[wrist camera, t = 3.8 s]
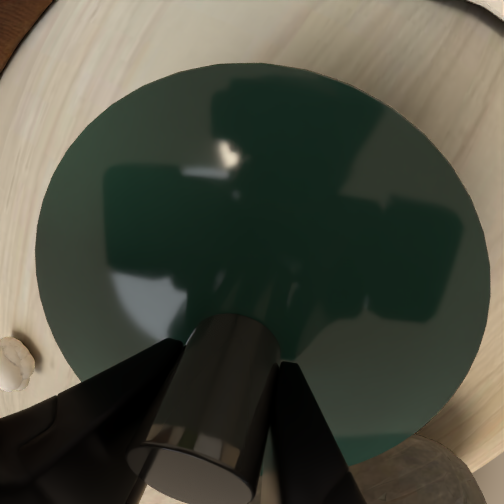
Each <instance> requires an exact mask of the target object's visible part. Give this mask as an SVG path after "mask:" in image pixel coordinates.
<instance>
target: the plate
mask: <svg viewBox="0 0 504 504" xmlns="http://www.w3.org/2000/svg"><path fill="white" fill-rule="evenodd" d="M465 1H467V2H470V3H472V4H475V5H477V6H480V7H482V8H484V9H485V10H487V11H488V12H490V13H491V14H493V15H494V16H495V17H497V18H498V19H500V20H501V21H502V22H504V0H465Z"/></svg>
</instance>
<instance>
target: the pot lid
mask: <svg viewBox="0 0 504 504" xmlns="http://www.w3.org/2000/svg"><path fill="white" fill-rule="evenodd" d="M35 261H36V276H37V283H38V288H39V294H40V299H41V302H42V306H43V309H44V313H45V316H46V319H47V322H48V324H49V327H50V329H51V331H52V334H53V336H54V338H55V341H56V343H57V345H58V346H59V348H60V350H61V352H62V354H63V355H64V357H65V359H66V361H67V362H68V364H69V365H70V367H71V368H72V370H73V371H74V373H75V374H76V375H77V377H78V378H79V380H80V381H81V382H83V381H85V380H87V379H89V378H91V377H93V376H95V375H97V374H99V373H101V372H103V371H105V370H107V369H109V368H111V367H112V366H114V365H116V364H118V363H120V362H122V361H124V360H126V359H128V358H130V357H132V356H134V355H135V354H137V353H139V352H141V351H143V350H145V349H147V348H149V347H151V346H152V345H154V344H156V343H158V342H160V341H162V340H164V339H166V338H172V339H176V340H180V341H182V342H183V344H184V347H183V349H182V351H181V352H180V354H179V356H178V358H177V359H176V361H175V363H174V365H173V366H172V368H171V370H170V372H169V373H168V375H167V377H166V379H165V380H164V382H163V384H162V386H161V387H160V389H159V391H158V393H157V394H156V396H155V398H154V400H153V401H152V403H151V405H150V407H149V409H148V410H147V412H146V414H145V416H144V417H143V419H142V421H141V423H140V425H139V426H138V428H137V430H136V432H135V433H134V435H133V437H132V439H131V441H130V442H129V444H128V446H127V448H126V451H125V459H126V462H127V464H128V466H129V467H130V469H131V470H132V471H133V472H134V473H135V474H136V475H137V476H138V477H139V478H140V479H141V480H142V481H144V482H145V483H146V484H148V485H149V486H151V487H152V488H154V489H156V490H157V491H159V492H161V493H163V494H165V495H167V496H169V497H171V498H174V499H176V500H179V501H182V502H185V503H188V504H249V503H250V502H251V501H252V500H253V499H254V498H255V496H256V493H257V488H258V484H259V479H260V476H262V474H263V459H264V454H265V449H266V444H267V439H268V434H269V428H270V423H271V416H272V409H273V403H274V397H275V392H276V386H277V380H278V374H279V368H280V364H281V362H282V361H287V362H293V363H297V364H298V365H299V366H300V368H301V370H302V372H303V374H304V376H305V379H306V381H307V383H308V385H309V387H310V389H311V391H312V393H313V395H314V397H315V399H316V401H317V403H318V405H319V407H320V409H321V412H322V414H323V416H324V418H325V420H326V422H327V424H328V426H329V428H330V430H331V432H332V434H333V436H334V438H335V440H336V442H337V444H338V446H339V448H340V450H341V453H342V455H343V457H344V459H345V461H346V463H347V465H348V467H349V466H352V465H355V464H358V463H361V462H363V461H366V460H368V459H371V458H373V457H376V456H378V455H380V454H382V453H384V452H386V451H388V450H389V449H391V448H393V447H395V446H397V445H398V444H400V443H402V442H403V441H404V440H406V439H407V438H409V437H410V436H412V435H413V434H415V433H416V432H417V431H419V430H420V429H421V428H422V427H423V426H424V425H426V424H427V423H428V422H429V421H430V420H431V419H432V418H433V417H435V416H436V415H437V414H438V412H439V411H440V410H441V409H442V408H443V407H444V406H445V405H446V403H447V402H448V401H449V400H450V399H451V398H452V396H453V395H454V394H455V392H456V391H457V389H458V388H459V386H460V385H461V383H462V382H463V380H464V379H465V377H466V375H467V373H468V371H469V369H470V367H471V365H472V363H473V361H474V359H475V357H476V355H477V353H478V350H479V347H480V344H481V341H482V338H483V334H484V331H485V327H486V323H487V317H488V310H489V303H490V263H489V258H488V252H487V247H486V242H485V237H484V232H483V229H482V226H481V224H480V221H479V218H478V215H477V213H476V210H475V208H474V205H473V202H472V200H471V198H470V196H469V194H468V192H467V191H466V189H465V187H464V185H463V184H462V182H461V180H460V179H459V177H458V175H457V174H456V172H455V171H454V169H453V167H452V166H451V164H450V163H449V162H448V161H447V160H446V158H445V157H444V156H443V155H442V154H441V152H440V151H439V150H438V149H437V148H436V147H435V145H434V144H433V143H432V142H431V141H430V140H429V139H428V138H427V136H426V135H425V134H424V133H422V132H421V131H420V130H419V129H418V128H417V127H415V126H414V125H413V124H412V123H411V122H409V121H408V120H407V119H406V118H404V117H403V116H402V115H401V114H399V113H398V112H397V111H396V110H394V109H393V108H392V107H390V106H389V105H387V104H385V103H383V102H382V101H380V100H378V99H376V98H375V97H373V96H371V95H369V94H367V93H366V92H364V91H362V90H360V89H358V88H356V87H354V86H352V85H350V84H348V83H345V82H342V81H339V80H337V79H334V78H331V77H328V76H325V75H322V74H319V73H316V72H313V71H309V70H305V69H300V68H294V67H287V66H281V65H274V64H267V63H230V64H216V65H211V66H205V67H200V68H195V69H190V70H186V71H181V72H177V73H175V74H172V75H169V76H167V77H164V78H161V79H159V80H156V81H154V82H151V83H149V84H146V85H144V86H142V87H140V88H139V89H137V90H135V91H133V92H132V93H130V94H128V95H127V96H125V97H123V98H122V99H120V100H119V101H117V102H115V103H114V104H112V105H111V106H110V107H109V108H107V109H106V110H105V111H104V112H103V113H102V114H100V115H99V116H98V117H97V118H96V119H95V120H94V121H92V122H91V123H90V124H89V125H88V126H87V127H86V128H85V129H84V130H83V132H82V133H81V134H80V135H79V136H78V138H77V139H76V140H75V141H74V142H73V144H72V145H71V146H70V147H69V149H68V150H67V152H66V153H65V155H64V157H63V158H62V160H61V162H60V163H59V165H58V167H57V169H56V170H55V172H54V174H53V176H52V178H51V181H50V183H49V186H48V188H47V191H46V194H45V196H44V199H43V202H42V207H41V211H40V215H39V220H38V224H37V233H36V245H35Z"/></svg>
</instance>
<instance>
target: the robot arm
mask: <svg viewBox="0 0 504 504" xmlns="http://www.w3.org/2000/svg"><path fill="white" fill-rule="evenodd" d="M183 347H184V344H183V342H182V341H180V340H176V339H172V338H166V339H164V340H162V341H160V342H158V343H156V344H154V345H152V346H151V347H149V348H147V349H145V350H143V351H141V352H139V353H137V354H135V355H134V356H132V357H130V358H128V359H126V360H124V361H122V362H120V363H118V364H116V365H114V366H112V367H111V368H109V369H107V370H105V371H103V372H101V373H99V374H97V375H95V376H93V377H91V378H89V379H87V380H85V381H83V382H81V383H79V384H77V385H75V386H73V387H71V388H69V389H67V390H65V391H63V392H61V393H59V394H58V396H56V395H55V396H53V397H51V398H49V399H47V400H45V401H42V402H40V403H38V404H36V405H34V406H31V407H29V408H27V409H24V410H22V411H19V412H17V413H14V414H11V415H9V416H6V417H3V418H0V504H138V503H139V501H140V499H141V497H142V495H143V493H144V491H145V488H146V486H147V484H146V483H145V482H144V481H142V480H141V479H140V478H139V477H138V476H137V475H136V474H135V473H134V472H133V471H132V470H131V469H130V467H129V466H128V464H127V462H126V459H125V451H126V448H127V446H128V444H129V442H130V441H131V439H132V437H133V435H134V433H135V432H136V430H137V428H138V426H139V425H140V423H141V421H142V419H143V417H144V416H145V414H146V412H147V410H148V409H149V407H150V405H151V403H152V401H153V400H154V398H155V396H156V394H157V393H158V391H159V389H160V387H161V386H162V384H163V382H164V380H165V379H166V377H167V375H168V373H169V372H170V370H171V368H172V366H173V365H174V363H175V361H176V359H177V358H178V356H179V354H180V352H181V351H182V349H183ZM348 471H349V467H348V465H347V463H346V461H345V459H344V457H343V455H342V453H341V450H340V448H339V446H338V444H337V442H336V440H335V438H334V436H333V434H332V432H331V430H330V428H329V426H328V424H327V422H326V420H325V418H324V416H323V414H322V412H321V409H320V407H319V405H318V403H317V401H316V399H315V397H314V395H313V393H312V391H311V389H310V387H309V385H308V383H307V381H306V379H305V376H304V374H303V372H302V370H301V368H300V366H299V365H298V364H297V363H293V362H287V361H282V362H281V364H280V368H279V374H278V380H277V386H276V392H275V397H274V403H273V409H272V416H271V423H270V428H269V434H268V439H267V444H266V449H265V454H264V459H263V474H262V489H261V502H260V504H368V503H367V502H366V500H365V498H364V496H363V494H362V492H361V490H360V489H359V487H358V485H357V483H356V481H355V479H354V477H353V475H352V473H351V472H350V471H349V472H348Z"/></svg>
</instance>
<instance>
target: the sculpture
mask: <svg viewBox="0 0 504 504" xmlns="http://www.w3.org/2000/svg"><path fill="white" fill-rule="evenodd" d="M52 1H53V0H0V73H1V72H2V70H3V68H4V67H5V65H6V63H7V61H8V60H9V58H10V56H11V55H12V53H13V52H14V50H15V48H16V47H17V45H18V44H19V42H20V41H21V40H22V38H23V37H24V36H25V34H26V33H27V32H28V31H29V29H30V28H31V27H32V26H33V24H34V23H35V22H36V20H37V19H38V18H39V16H40V15H41V14H42V13H43V12H44V10H45V9H46V8H47V7H48V6H49V4H50V3H51V2H52Z"/></svg>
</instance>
